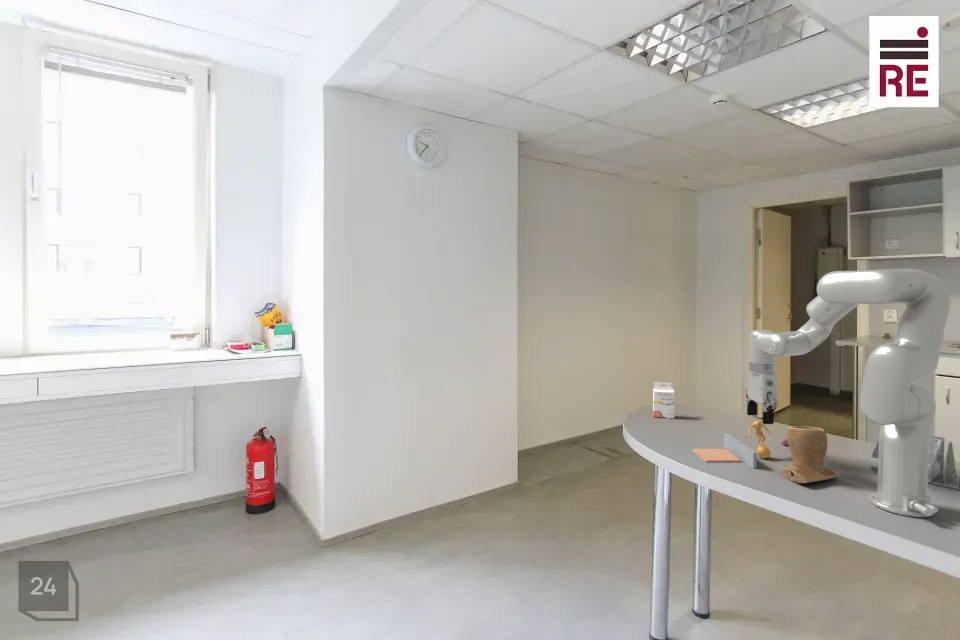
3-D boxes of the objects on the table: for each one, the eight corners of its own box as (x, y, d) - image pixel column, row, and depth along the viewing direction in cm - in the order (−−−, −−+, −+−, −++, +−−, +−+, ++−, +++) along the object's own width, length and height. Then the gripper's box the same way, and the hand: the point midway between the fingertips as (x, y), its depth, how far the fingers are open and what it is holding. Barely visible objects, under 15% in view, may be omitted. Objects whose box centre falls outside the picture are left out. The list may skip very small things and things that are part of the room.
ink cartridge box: (653, 417, 209) (653, 384, 208) (652, 414, 213) (652, 381, 212) (674, 419, 206) (674, 384, 205) (673, 416, 211) (673, 382, 210)
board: (741, 462, 155) (741, 460, 155) (706, 462, 156) (706, 460, 156) (725, 450, 166) (725, 448, 166) (692, 450, 167) (692, 448, 167)
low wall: (756, 468, 150) (756, 452, 149) (753, 468, 150) (753, 452, 149) (726, 447, 170) (726, 433, 169) (723, 447, 170) (723, 433, 169)
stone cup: (805, 466, 150) (806, 419, 149) (844, 481, 139) (846, 429, 138) (768, 473, 146) (769, 424, 145) (805, 489, 134) (807, 436, 133)
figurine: (757, 461, 155) (758, 424, 155) (743, 455, 161) (743, 419, 160) (778, 458, 158) (779, 422, 157) (763, 452, 163) (764, 417, 163)
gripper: (789, 373, 149) (786, 427, 150) (759, 363, 166) (757, 412, 168) (764, 373, 149) (762, 427, 151) (737, 363, 166) (735, 411, 168)
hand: (759, 419), depth 159 cm, fingers open, 9 cm apart
